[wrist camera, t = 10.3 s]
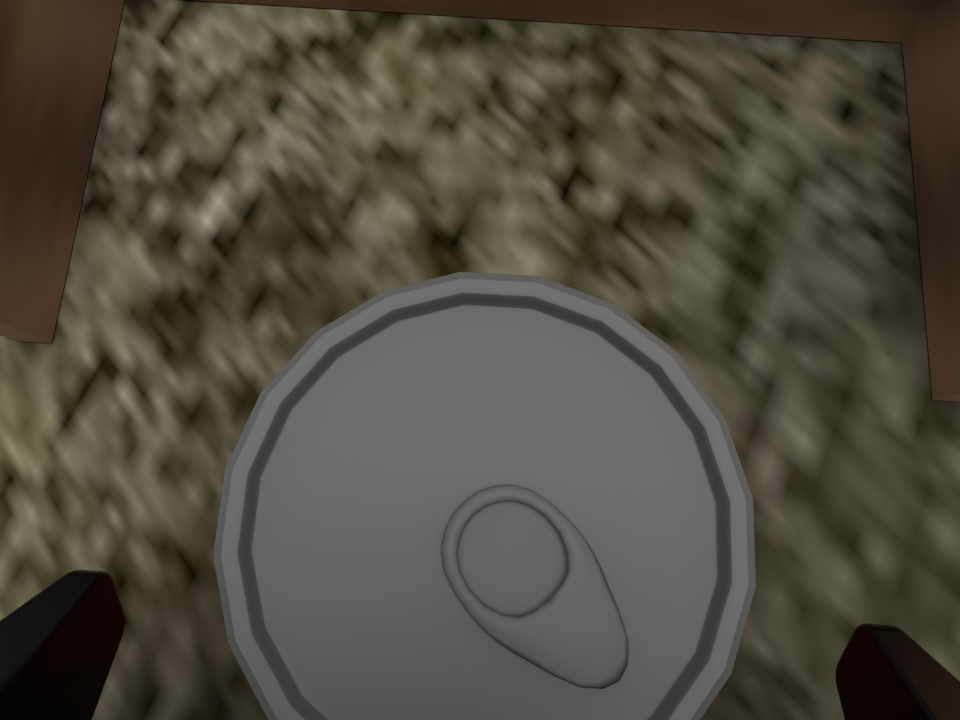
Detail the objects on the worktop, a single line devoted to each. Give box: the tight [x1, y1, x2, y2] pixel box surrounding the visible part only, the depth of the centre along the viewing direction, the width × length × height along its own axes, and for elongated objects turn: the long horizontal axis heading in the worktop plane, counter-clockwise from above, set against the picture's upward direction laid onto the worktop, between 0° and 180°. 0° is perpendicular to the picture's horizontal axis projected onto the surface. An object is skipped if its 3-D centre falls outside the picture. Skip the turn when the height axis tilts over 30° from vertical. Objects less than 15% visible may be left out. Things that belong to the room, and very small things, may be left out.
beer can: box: [213, 272, 756, 720], centre depth 13 cm, size 7×7×12 cm
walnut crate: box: [0, 0, 960, 402], centre depth 17 cm, size 13×27×8 cm, turn 86°
